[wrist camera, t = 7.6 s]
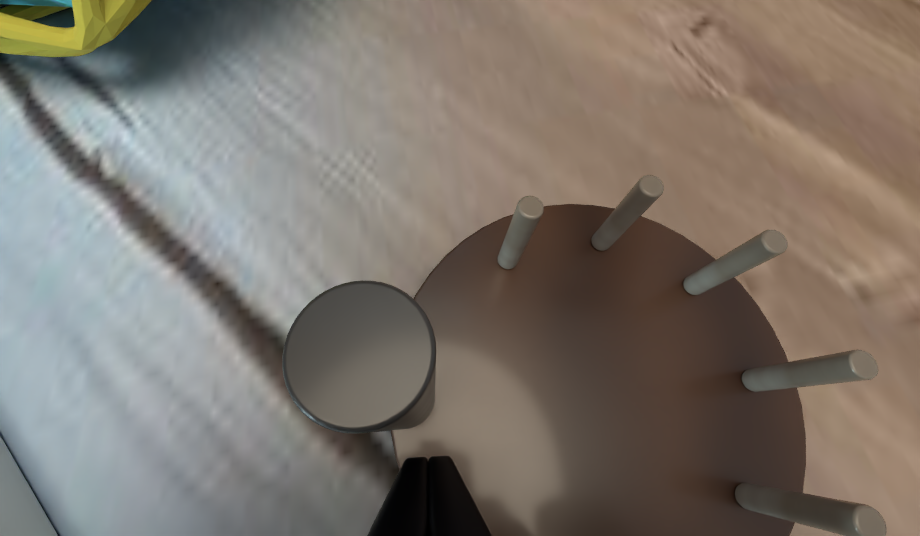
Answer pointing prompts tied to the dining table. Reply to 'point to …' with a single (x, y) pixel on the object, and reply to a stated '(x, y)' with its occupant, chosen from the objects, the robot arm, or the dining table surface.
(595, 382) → the rack
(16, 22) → the decorative object
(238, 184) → the dining table surface
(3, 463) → the picture frame
